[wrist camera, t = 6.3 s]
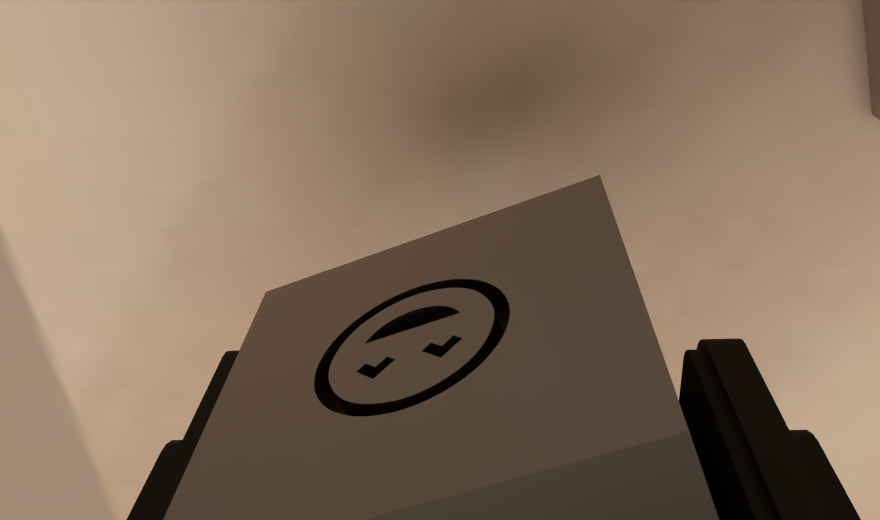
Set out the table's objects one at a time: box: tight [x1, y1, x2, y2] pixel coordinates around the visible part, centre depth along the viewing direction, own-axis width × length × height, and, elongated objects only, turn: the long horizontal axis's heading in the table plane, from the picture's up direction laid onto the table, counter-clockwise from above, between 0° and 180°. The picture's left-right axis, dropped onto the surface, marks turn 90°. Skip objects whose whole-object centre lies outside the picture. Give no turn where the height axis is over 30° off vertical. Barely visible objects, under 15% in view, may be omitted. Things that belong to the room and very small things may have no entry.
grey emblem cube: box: [163, 175, 719, 520], centre depth 10 cm, size 5×5×5 cm
